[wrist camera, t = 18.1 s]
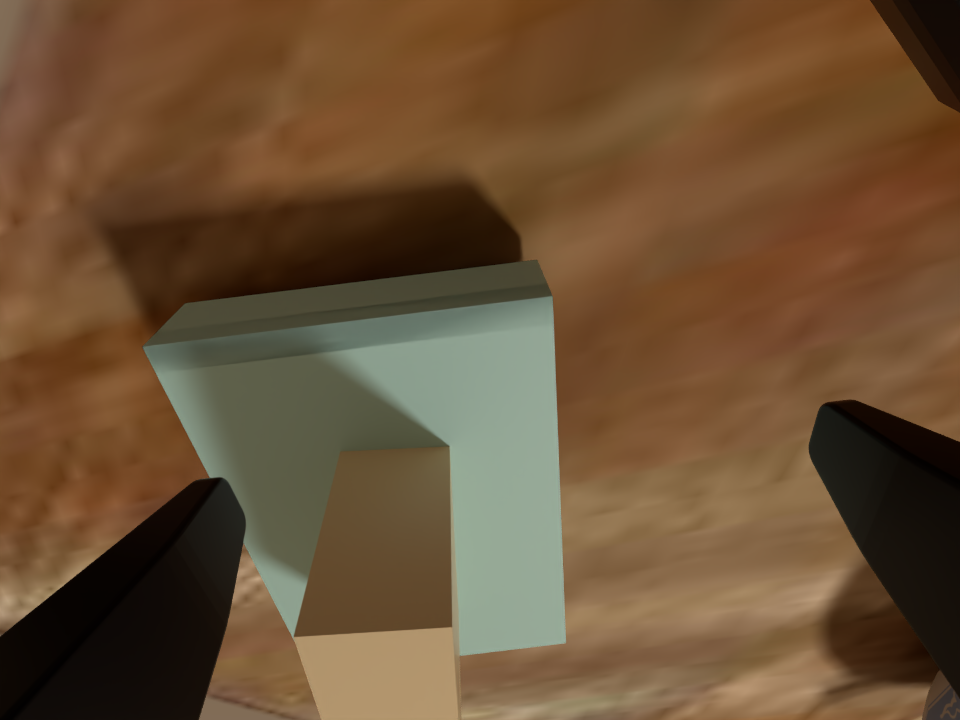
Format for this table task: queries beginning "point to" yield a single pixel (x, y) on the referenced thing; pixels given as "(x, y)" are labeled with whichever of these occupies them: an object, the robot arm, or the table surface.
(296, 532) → the lid
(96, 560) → the robot arm
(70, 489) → the table surface
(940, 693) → the ramen bowl
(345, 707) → the tan rectangular block
